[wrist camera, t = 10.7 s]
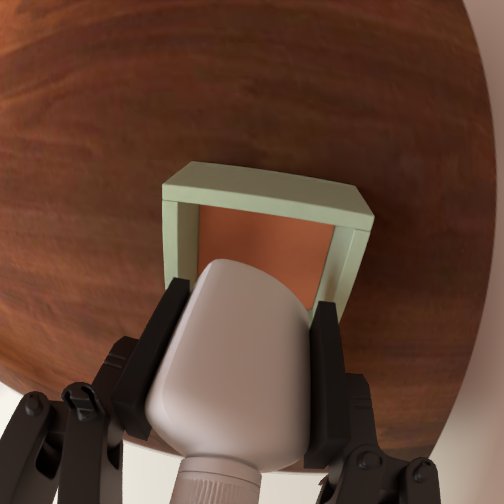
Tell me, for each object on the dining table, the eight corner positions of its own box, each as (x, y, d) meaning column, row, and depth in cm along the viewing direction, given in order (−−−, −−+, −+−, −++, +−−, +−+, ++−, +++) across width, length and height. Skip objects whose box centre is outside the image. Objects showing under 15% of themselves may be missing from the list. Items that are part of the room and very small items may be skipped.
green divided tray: (191, 160, 17) (161, 183, 13) (355, 185, 17) (375, 216, 13) (191, 366, 26) (178, 406, 22) (294, 382, 26) (293, 425, 22)
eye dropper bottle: (241, 345, 16) (197, 561, 6) (185, 267, 14) (68, 520, 4) (315, 324, 15) (315, 571, 5) (269, 233, 13) (212, 574, 2)
